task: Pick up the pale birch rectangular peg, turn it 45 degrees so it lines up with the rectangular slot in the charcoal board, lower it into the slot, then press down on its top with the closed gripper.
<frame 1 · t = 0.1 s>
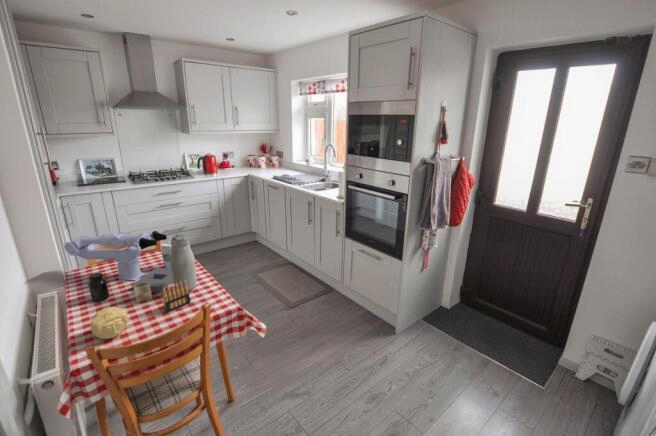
hand: (161, 239, 157), 22 cm above the table, tool horizontal, fingers open, 7 cm apart
ammunition clip: (178, 307, 141), on the table
supplement bottle: (101, 299, 146), on the table
sculpture: (111, 333, 124), on the table
syrup box: (172, 268, 176), on the table
slot board: (158, 281, 161), on the table
peg: (144, 298, 147), on the table
grey bottle: (186, 290, 155), on the table
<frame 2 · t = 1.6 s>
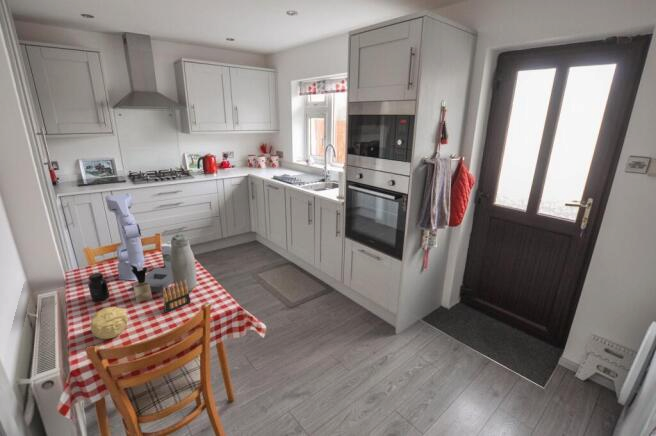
hand: (140, 279, 144), 10 cm above the table, tool pointing down, fingers open, 7 cm apart
nothing on the table moved.
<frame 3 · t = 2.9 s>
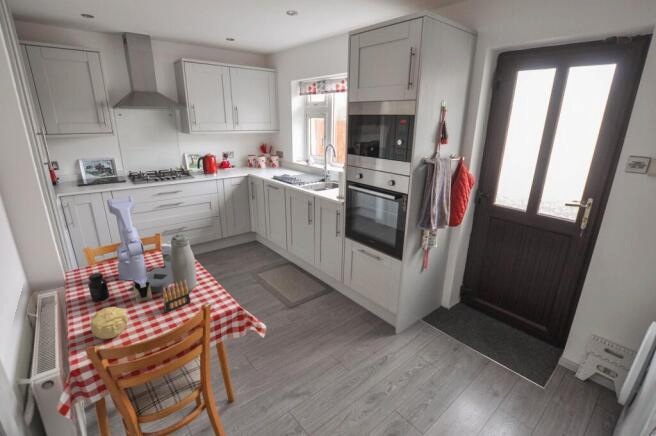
hand: (143, 294, 146), 2 cm above the table, tool pointing down, fingers closed on peg, 4 cm apart
peg: (144, 298, 147), on the table, touching gripper
everything else where it was.
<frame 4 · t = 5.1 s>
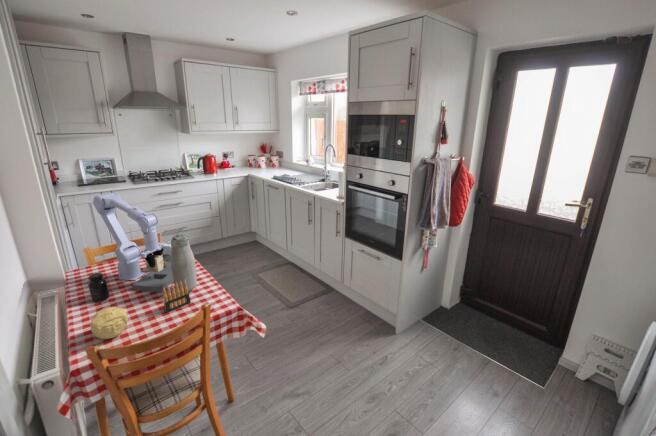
hand: (155, 265, 158), 9 cm above the table, tool pointing down, fingers closed on peg, 4 cm apart
peg: (155, 269, 159), point 7 cm above the table, touching gripper
everything else where it was.
when the fingers open (3 cm above the table, at t = 7.3 s): peg stays where it is, resting on slot board.
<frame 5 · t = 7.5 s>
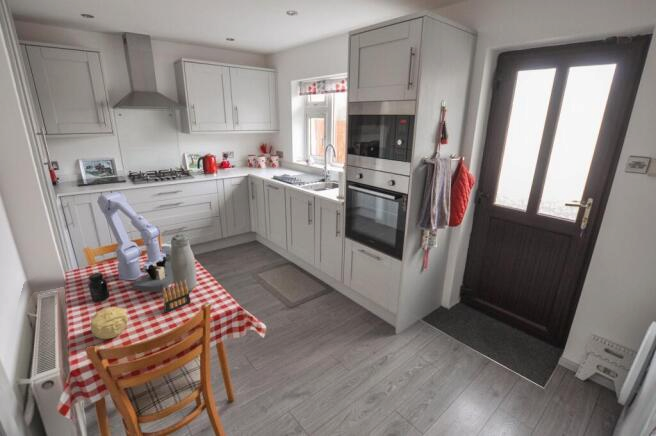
hand: (157, 275, 160), 3 cm above the table, tool pointing down, fingers open, 6 cm apart
peg: (157, 280, 161), resting on slot board
everything else where it was.
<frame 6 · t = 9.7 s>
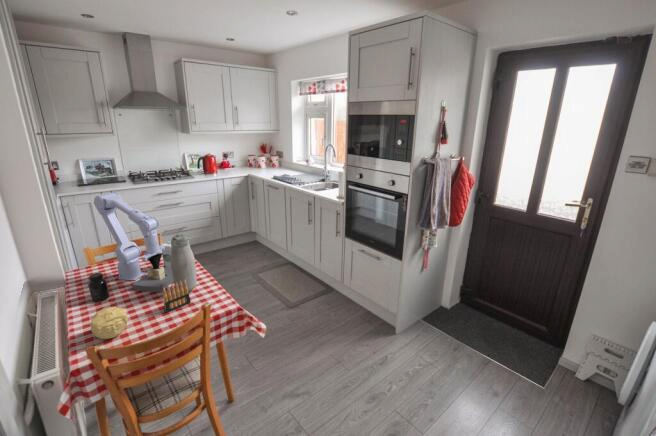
hand: (156, 268, 159), 8 cm above the table, tool pointing down, fingers closed, pressing on peg
peg: (157, 280, 161), resting on slot board, touching gripper
everything else where it was.
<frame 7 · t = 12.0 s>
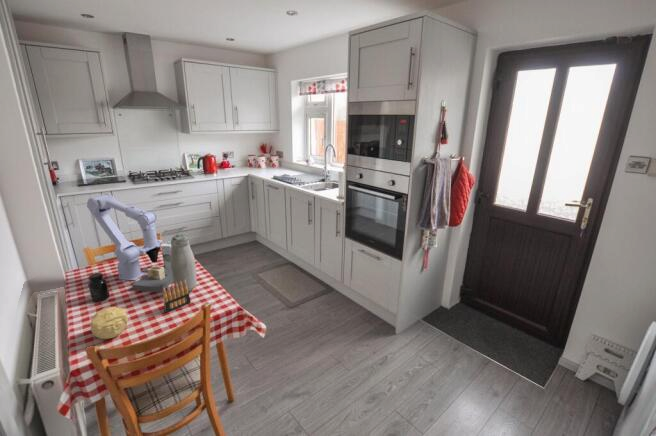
hand: (154, 261, 160), 10 cm above the table, tool pointing down, fingers closed
peg: (157, 280, 161), resting on slot board
everything else where it was.
at the end: peg 0.4 cm off-centre on the slot board, point 0.5 cm above the slot board's base; peg tilted 0°; the gripper is holding nothing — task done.
